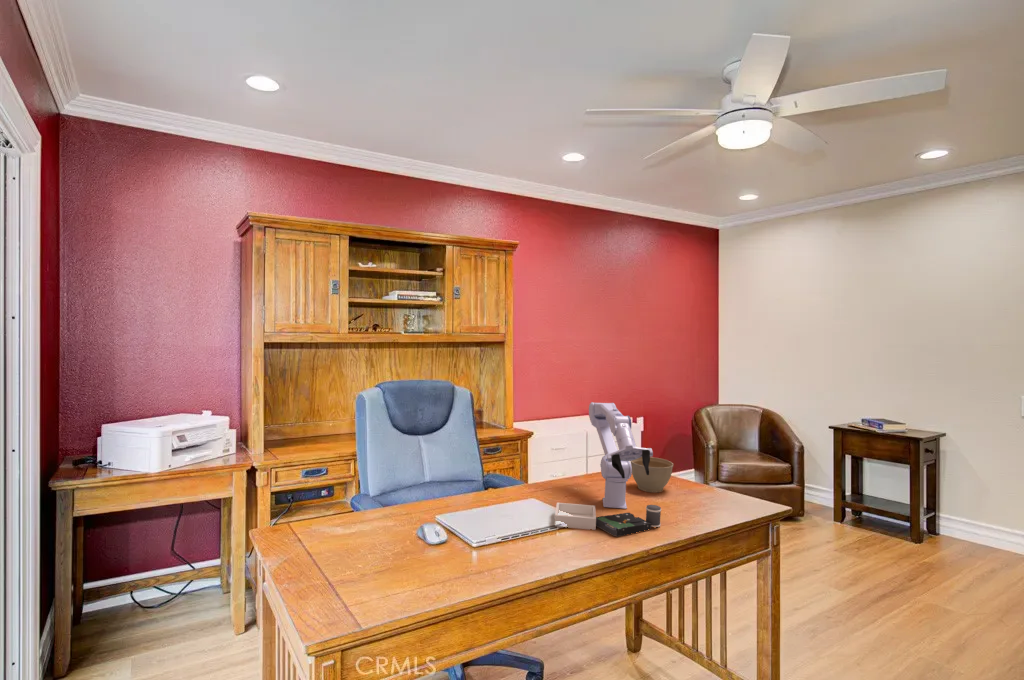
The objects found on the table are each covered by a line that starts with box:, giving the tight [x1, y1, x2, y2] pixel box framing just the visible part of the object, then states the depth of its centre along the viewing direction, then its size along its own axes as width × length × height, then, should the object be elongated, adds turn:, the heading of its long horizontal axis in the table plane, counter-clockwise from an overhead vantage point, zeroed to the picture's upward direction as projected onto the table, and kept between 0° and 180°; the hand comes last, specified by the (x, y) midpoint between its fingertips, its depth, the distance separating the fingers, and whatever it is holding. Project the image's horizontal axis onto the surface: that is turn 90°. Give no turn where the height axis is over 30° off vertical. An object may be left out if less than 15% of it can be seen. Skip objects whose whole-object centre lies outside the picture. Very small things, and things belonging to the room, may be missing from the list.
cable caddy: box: [554, 502, 597, 531], centre depth 180 cm, size 13×13×4 cm
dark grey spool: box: [645, 504, 662, 528], centre depth 179 cm, size 5×5×6 cm
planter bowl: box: [630, 456, 674, 494], centre depth 219 cm, size 16×16×11 cm
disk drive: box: [596, 512, 652, 537], centre depth 176 cm, size 10×3×15 cm
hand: (635, 474), depth 176 cm, fingers open, 7 cm apart
